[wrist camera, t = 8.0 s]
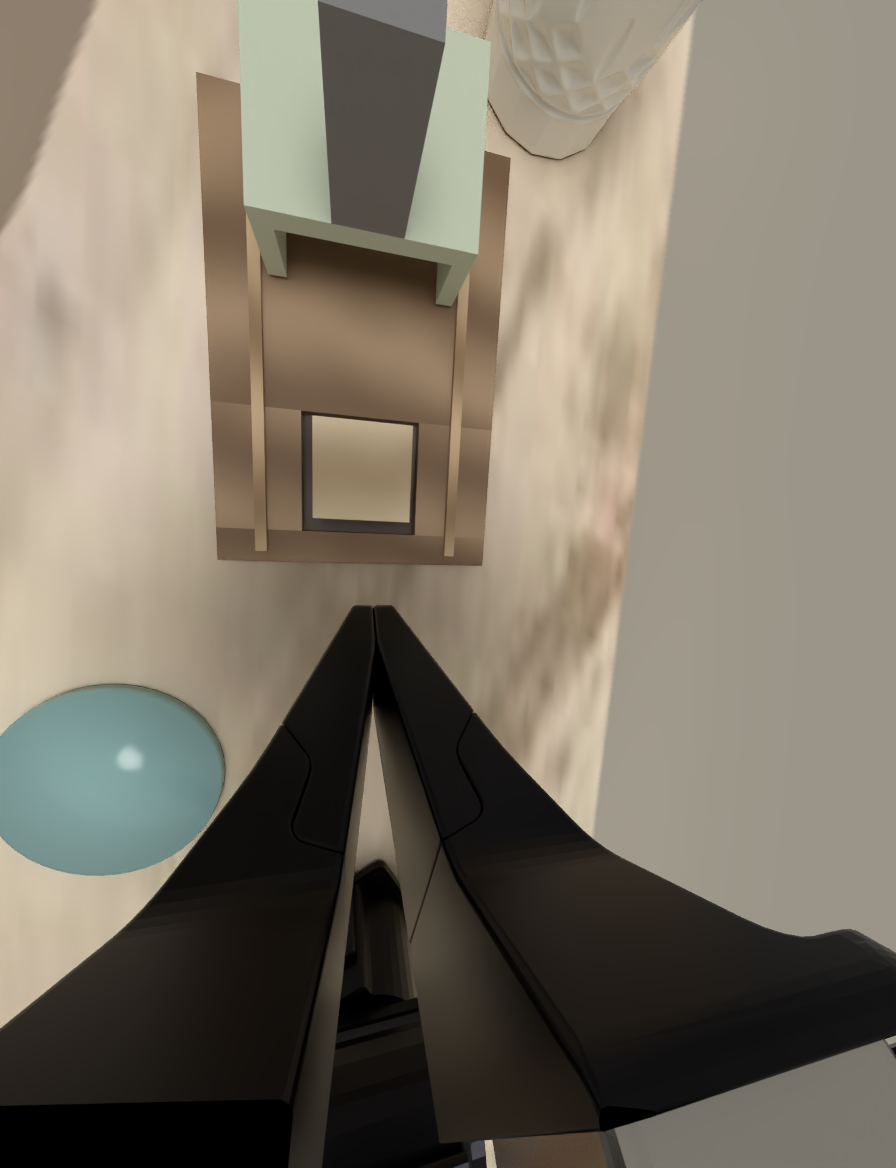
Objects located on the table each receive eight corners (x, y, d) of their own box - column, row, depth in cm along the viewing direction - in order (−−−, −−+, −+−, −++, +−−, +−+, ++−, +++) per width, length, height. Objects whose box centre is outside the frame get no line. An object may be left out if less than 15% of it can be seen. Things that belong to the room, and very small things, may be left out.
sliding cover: (451, 306, 19) (566, 83, 9) (267, 274, 17) (153, -55, 7) (459, 144, 18) (601, -321, 8) (264, 90, 16) (121, -610, 6)
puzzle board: (476, 563, 23) (483, 566, 22) (223, 556, 20) (215, 560, 19) (502, 174, 20) (512, 152, 19) (204, 96, 17) (193, 63, 16)
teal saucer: (262, 794, 23) (259, 804, 22) (87, 896, 22) (78, 910, 21) (148, 647, 20) (140, 653, 19) (-59, 755, 19) (-76, 765, 18)
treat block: (398, 519, 22) (409, 522, 18) (319, 515, 21) (312, 517, 17) (401, 440, 21) (413, 425, 17) (319, 432, 20) (312, 415, 16)
